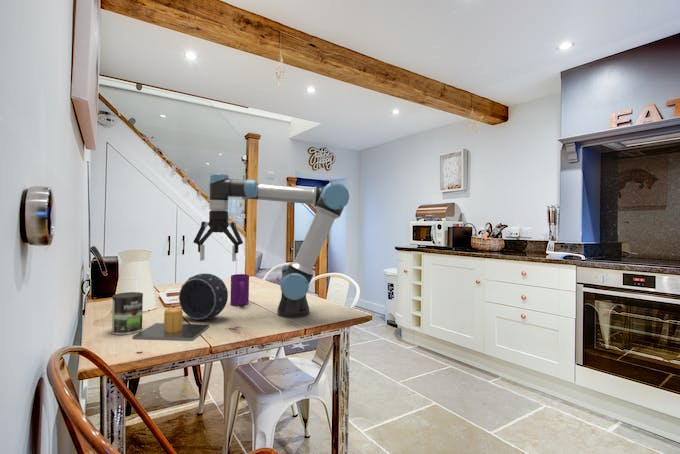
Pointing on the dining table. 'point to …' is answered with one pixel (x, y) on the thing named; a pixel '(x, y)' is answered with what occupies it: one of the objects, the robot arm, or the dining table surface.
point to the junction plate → (158, 333)
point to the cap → (173, 320)
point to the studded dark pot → (203, 296)
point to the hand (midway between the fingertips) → (218, 260)
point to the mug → (239, 290)
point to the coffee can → (127, 313)
